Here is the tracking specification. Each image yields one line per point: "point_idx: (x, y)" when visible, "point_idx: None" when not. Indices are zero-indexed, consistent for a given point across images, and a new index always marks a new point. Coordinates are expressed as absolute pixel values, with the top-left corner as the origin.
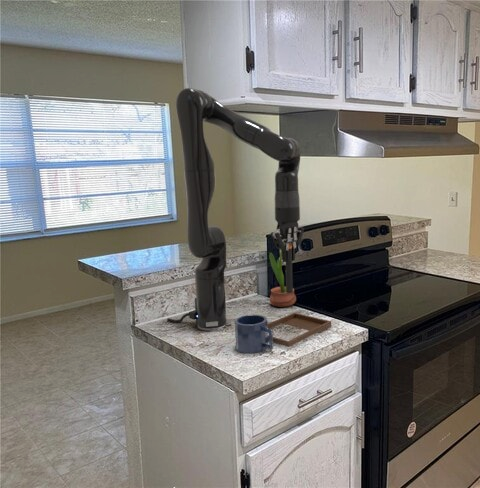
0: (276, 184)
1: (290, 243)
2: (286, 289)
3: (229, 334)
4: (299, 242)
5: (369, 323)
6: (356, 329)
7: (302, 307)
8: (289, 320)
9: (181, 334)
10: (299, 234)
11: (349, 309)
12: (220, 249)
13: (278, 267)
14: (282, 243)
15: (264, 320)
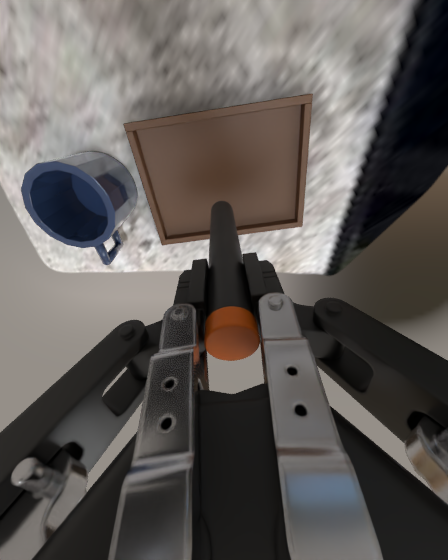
0: None
1: (286, 326)
2: (211, 211)
3: (84, 41)
4: (340, 358)
5: (352, 259)
6: (312, 261)
7: (414, 17)
8: (273, 111)
9: None
10: (392, 426)
11: (431, 170)
12: None
13: None
14: (127, 405)
15: (101, 238)
